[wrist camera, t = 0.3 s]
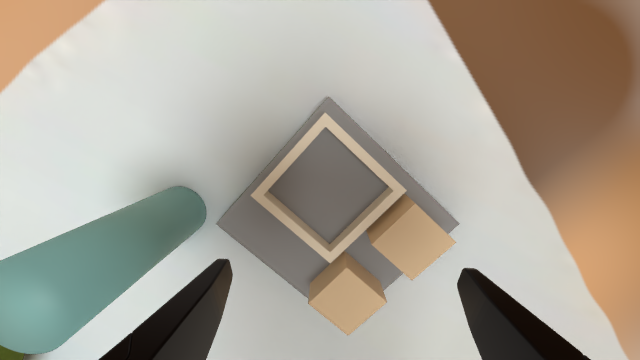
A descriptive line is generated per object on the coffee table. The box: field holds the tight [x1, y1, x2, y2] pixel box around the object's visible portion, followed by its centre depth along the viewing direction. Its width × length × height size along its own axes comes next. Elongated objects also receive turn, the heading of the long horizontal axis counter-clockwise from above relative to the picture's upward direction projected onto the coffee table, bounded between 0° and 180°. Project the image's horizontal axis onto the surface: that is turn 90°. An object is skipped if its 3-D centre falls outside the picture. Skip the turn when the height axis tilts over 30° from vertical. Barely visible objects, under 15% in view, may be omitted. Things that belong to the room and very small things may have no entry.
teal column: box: [0, 187, 206, 354], centre depth 19 cm, size 5×5×14 cm
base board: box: [216, 97, 459, 335], centre depth 24 cm, size 16×17×4 cm
